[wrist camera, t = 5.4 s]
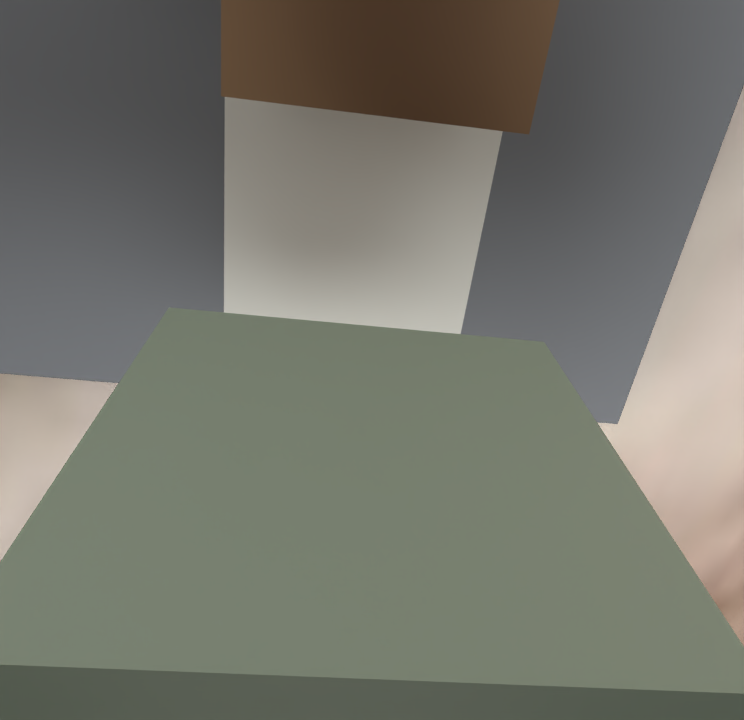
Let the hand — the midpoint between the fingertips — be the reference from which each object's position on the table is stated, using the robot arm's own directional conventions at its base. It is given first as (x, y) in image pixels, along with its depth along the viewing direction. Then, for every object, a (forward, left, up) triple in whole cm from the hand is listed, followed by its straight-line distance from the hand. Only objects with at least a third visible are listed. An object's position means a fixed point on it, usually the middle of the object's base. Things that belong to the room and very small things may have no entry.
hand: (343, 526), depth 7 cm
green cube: (0, 0, -1) cm, 1 cm away
